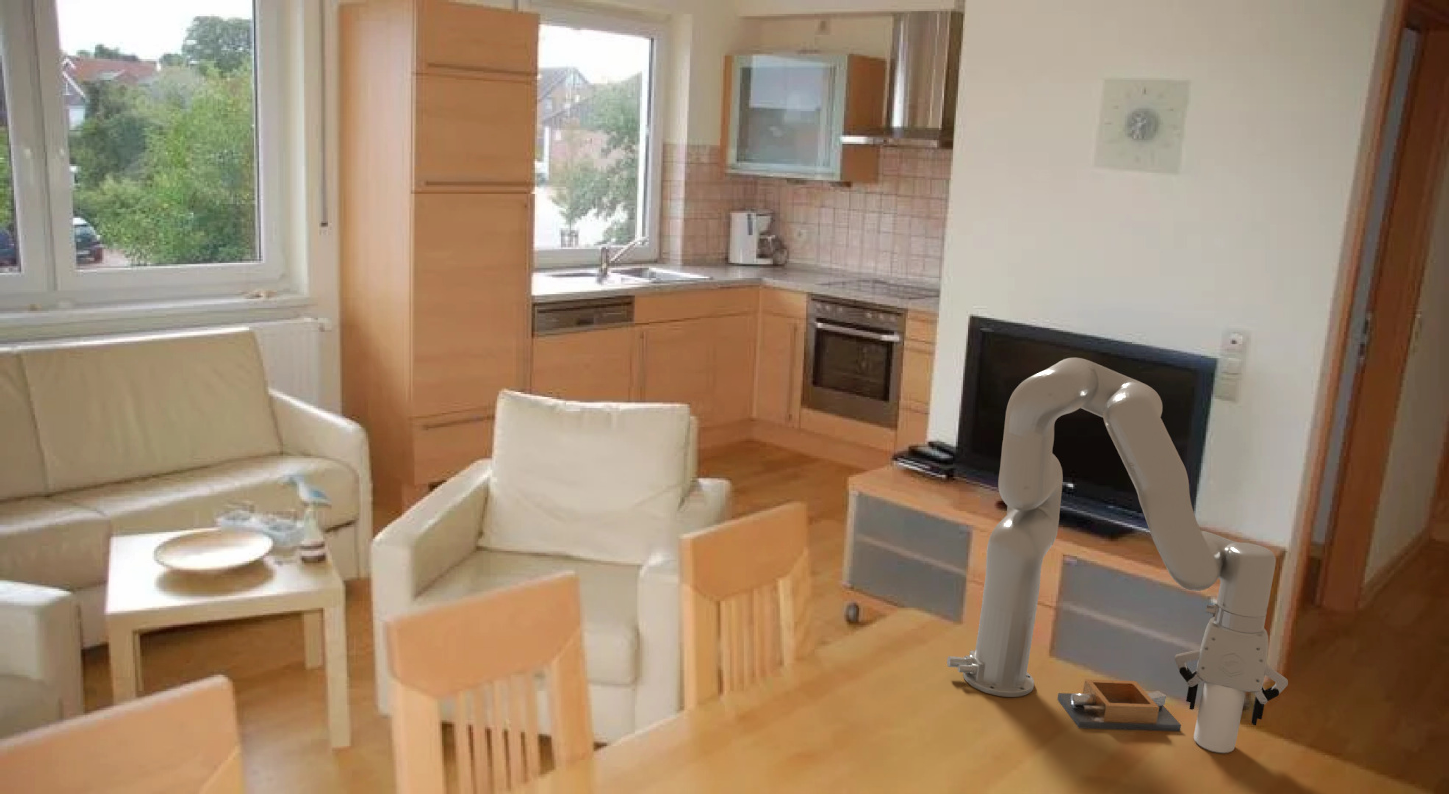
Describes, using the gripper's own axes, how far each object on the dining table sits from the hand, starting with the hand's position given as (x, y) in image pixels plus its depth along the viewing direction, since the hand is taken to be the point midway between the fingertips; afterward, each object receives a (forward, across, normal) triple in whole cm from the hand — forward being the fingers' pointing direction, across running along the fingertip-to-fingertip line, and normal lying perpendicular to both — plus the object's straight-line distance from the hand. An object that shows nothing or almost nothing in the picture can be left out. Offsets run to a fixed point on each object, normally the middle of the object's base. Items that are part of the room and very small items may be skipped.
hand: (1222, 714), depth 195 cm
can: (+6, -1, 0) cm, 6 cm away
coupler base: (+6, -16, +1) cm, 17 cm away
